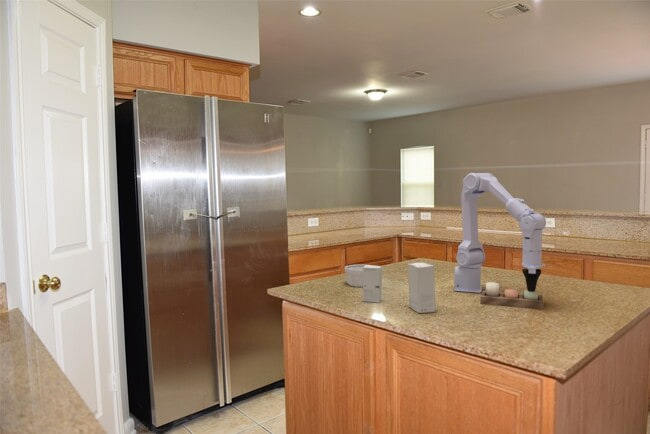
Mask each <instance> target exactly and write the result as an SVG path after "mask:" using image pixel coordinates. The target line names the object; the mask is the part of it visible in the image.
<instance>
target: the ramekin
mask: <svg viewBox="0 0 650 434" xmlns="http://www.w3.org/2000/svg"><path fill="white" fill-rule="evenodd" d="M365 265H366V264H350V265H346V266H345V267H344V272H345V280H346V283H347V285H349V286H351V287H356V288H363V267H364V266H365Z"/></svg>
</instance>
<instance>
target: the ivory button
mask: <svg viewBox="0 0 650 434" xmlns="http://www.w3.org/2000/svg"><path fill="white" fill-rule="evenodd" d="M485 291H486V295H487V296H495V297H497V296H499V292H500V283H498V282H495V281H494V282H493V281H491V282H490V281H489V282H485Z"/></svg>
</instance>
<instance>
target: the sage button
mask: <svg viewBox="0 0 650 434" xmlns="http://www.w3.org/2000/svg"><path fill="white" fill-rule="evenodd" d="M523 294H524V299H532V300H538V295H539V291H538V290H536V289H535V292H529V291H528V290H527V289H524V290H523Z"/></svg>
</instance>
